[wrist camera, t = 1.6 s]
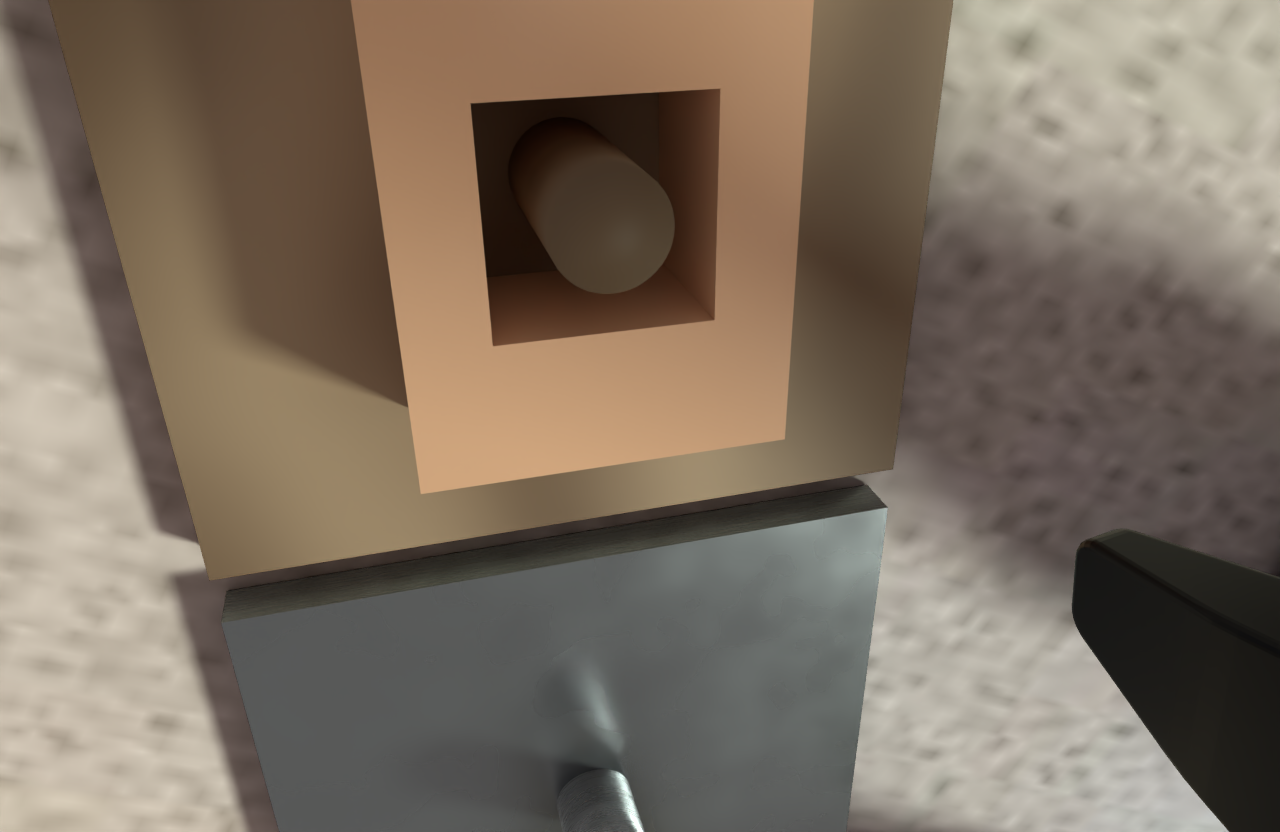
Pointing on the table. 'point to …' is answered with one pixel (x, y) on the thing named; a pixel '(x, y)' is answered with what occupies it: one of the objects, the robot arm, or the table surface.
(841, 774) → the hub base
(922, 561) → the table surface
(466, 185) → the square tube wooden block
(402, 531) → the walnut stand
